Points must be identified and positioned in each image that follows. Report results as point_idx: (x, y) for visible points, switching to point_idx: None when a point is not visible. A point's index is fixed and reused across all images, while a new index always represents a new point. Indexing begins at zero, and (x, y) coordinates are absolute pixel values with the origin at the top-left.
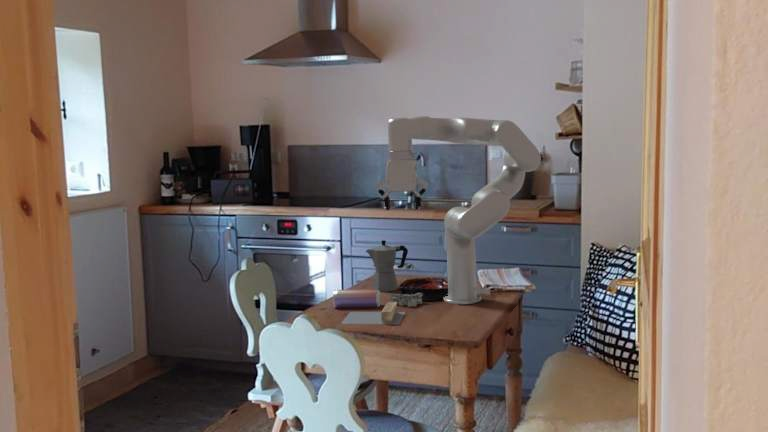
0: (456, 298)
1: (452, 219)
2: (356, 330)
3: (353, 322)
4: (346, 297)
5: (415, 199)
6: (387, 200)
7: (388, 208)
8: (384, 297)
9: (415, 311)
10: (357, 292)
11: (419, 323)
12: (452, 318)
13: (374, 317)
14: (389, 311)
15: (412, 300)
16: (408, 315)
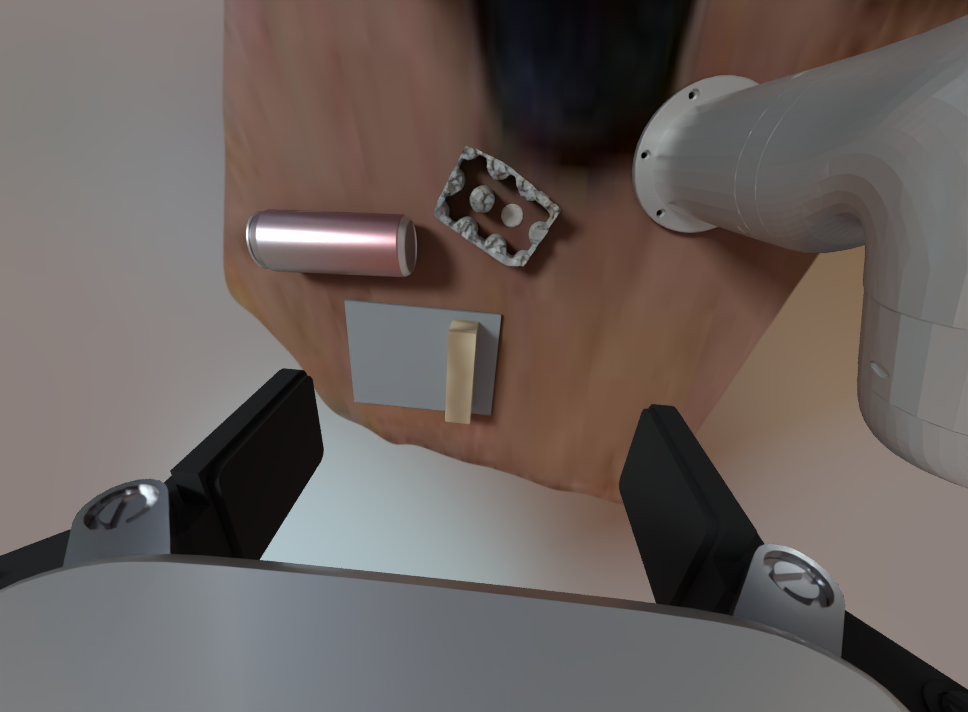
0: (675, 211)
1: (942, 362)
2: (401, 436)
3: (381, 394)
4: (307, 272)
5: (653, 590)
6: (260, 547)
7: (317, 462)
8: (409, 84)
9: (529, 295)
10: (334, 266)
11: (537, 401)
12: (623, 368)
13: (423, 359)
14: (465, 419)
15: (521, 259)
16: (509, 333)
